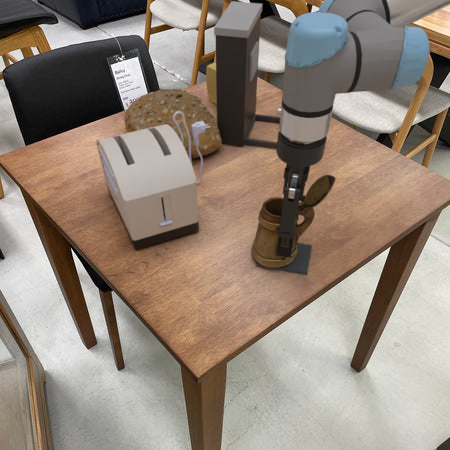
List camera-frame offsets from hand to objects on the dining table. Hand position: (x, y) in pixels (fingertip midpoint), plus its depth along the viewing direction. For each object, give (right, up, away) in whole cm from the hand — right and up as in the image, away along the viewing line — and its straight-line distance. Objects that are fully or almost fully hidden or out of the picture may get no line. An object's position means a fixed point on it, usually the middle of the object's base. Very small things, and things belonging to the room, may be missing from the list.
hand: (286, 241), depth 85 cm
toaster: (-24, +10, +14) cm, 29 cm away
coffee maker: (+1, +33, +32) cm, 46 cm away
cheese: (-10, +47, +44) cm, 65 cm away
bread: (-26, +30, +30) cm, 50 cm away
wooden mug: (0, -2, +3) cm, 3 cm away
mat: (0, -3, +3) cm, 4 cm away
